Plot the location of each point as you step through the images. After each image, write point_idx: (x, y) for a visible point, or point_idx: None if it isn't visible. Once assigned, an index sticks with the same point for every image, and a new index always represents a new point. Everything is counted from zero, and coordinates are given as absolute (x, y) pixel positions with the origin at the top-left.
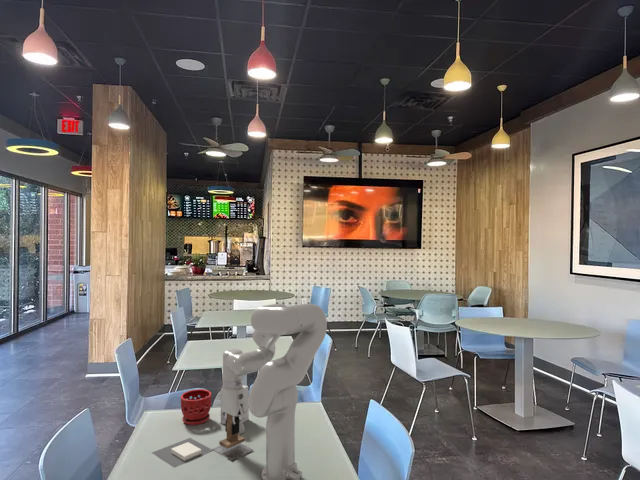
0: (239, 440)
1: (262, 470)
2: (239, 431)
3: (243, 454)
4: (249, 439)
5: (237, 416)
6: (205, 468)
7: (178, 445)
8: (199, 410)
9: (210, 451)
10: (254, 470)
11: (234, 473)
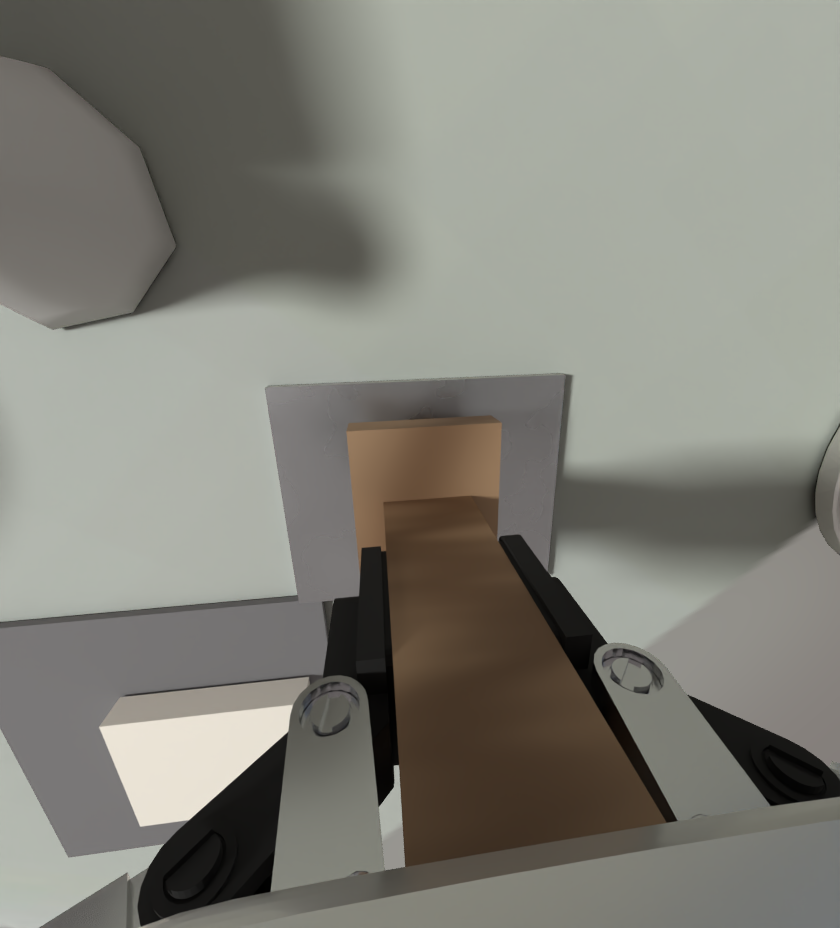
0: (497, 492)
1: (836, 531)
2: (143, 233)
3: (554, 478)
4: (343, 236)
5: (659, 798)
6: None
7: (60, 733)
8: None
9: (320, 619)
10: (744, 531)
11: (660, 626)
